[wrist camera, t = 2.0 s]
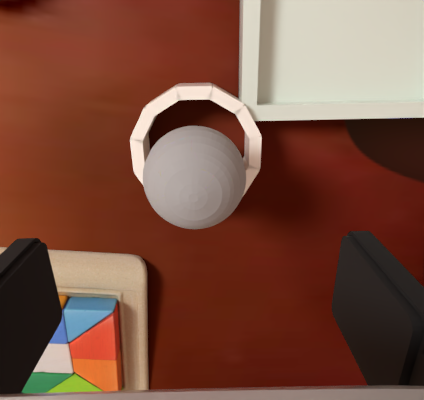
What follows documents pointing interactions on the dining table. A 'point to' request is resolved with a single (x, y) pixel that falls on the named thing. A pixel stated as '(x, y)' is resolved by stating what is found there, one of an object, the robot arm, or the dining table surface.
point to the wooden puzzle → (96, 325)
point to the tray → (331, 59)
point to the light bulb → (194, 177)
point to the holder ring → (197, 92)
